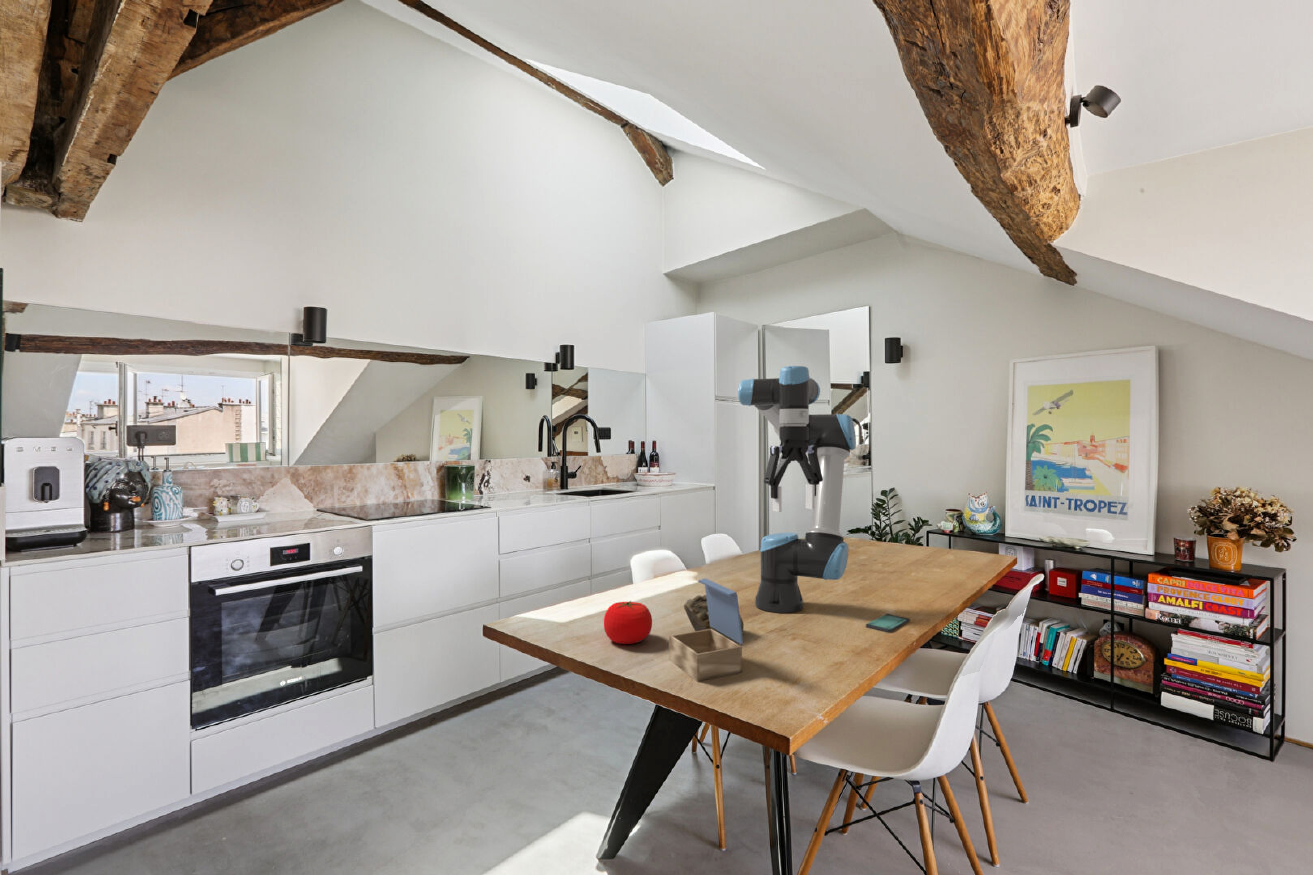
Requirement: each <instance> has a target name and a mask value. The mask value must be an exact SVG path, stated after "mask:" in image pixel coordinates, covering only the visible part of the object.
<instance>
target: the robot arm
mask: <svg viewBox="0 0 1313 875" xmlns="http://www.w3.org/2000/svg"><path fill="white" fill-rule="evenodd" d="M820 395H821V388H820V385H819V383H818V382H817V381H815V380H814V378H812V377H811V376H810V372H809V367H807V366H802V365H789V366H783V367H781V369H780V371H779V377H778V378H777V377H775V378H750V379H743V380H741V381H740V383H739V385H738V388H737V397H738V401H739V403H740V404H741V405H743V406H749V407H751V406H754V407H755V408H756V409H757V410H758V411H759V412H760V414H762V415H763V417H765V419H766V420H767V421H768V422H769V423H770V424H771V425H772V426H773V429H774V432H775V433H776V435H777V436H778V437H779V440H780V443H779V446H778V445H771V446H770V447H769V458H768V462H767V466H766V471H765V474H764V479H763V483H764V484H767V485H768V486H769V487H770V498H771V499H772V511H773V512H778V513H781V512H782V502H783V501H782V499H783V498H782V497H783V496H782V486H780V483H781V481H782V480H783V479H782V478H783V477H784V476H785V473H786V471H787V469H788V466H789V465H790V464H791V463H792V462H797V463H798V465H799V466H800V468H801V470H802V472H803V474H804V477H805V479H806V481H807V483H805V509H808V510H812V513H811V514H812V516H811V525H810V526H811V527H810V529H809V530H808V531H806V532H805V536H804V538H799V534H798V533H796V532H781V533H780V532H779V533H773V534H767V535H765V536H764V537H762V539H761V540H760V549H759V550H760V551H759V552H760V583H759V586H758V589H757V592H756V595H755V599H754V604H755V607H756V608H758V609H760V610H763V611H766V612H770V613H771V612H772V613H779V614H781V613H782V614H783V613H784V614H785V613H786V614H788V613H795V612H799V611H802V610H803V609H804V599H803V597H802V593H801V589H800V586H799V582H798V581H799V580H798V577H804V578H813V579H822V580H825V581H827V580H831V581H832V580H833V581H838V580H840V579H841V578H842V577H843V576H844V574H845V572H846V568H847V565H848V559H849V548H850V547H849V544H848V543H847V542H845V541H844V536H843V535H842V533H841V532H840V526H841V525H840V523H841V508H842V496H843V483H844V472H845V471H844V470H845V460H846V459H847V458H849V457H850V455H851V451H853V450H856V446H857V437H856V436H857V435H856V429H855V424H854V420H853V418H852V416H851V415H849V414H843V413H842V414H841V413H831V414H827V413H826V414H824V413H823V414H821V413H820V414H810V413H809V412H810V409H809V408H810V405H812V404H814V403H815V402H817V400H818V399H819V397H820Z"/></svg>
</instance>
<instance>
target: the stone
mask: <svg viewBox="0 0 1313 875" xmlns="http://www.w3.org/2000/svg"><path fill="white" fill-rule="evenodd" d="M683 607H684V608H683V609H684V611H685V613H686V615H687V618H688V619H689V622H690V624H691V627H693V628H692V629H694V632H695V631H701V630H707V629H713V630H714V631H716V632H718V633H719V634H721V635H723V636H725V637H726V638H728V639H730V640H731V641H732V639H731V638H730V637H728V636H726V635H724V634H723V633H721V632H719V631H718V630H716V629H714V628H712V627H711V626H710V622H709V614H708V606H707V598H706V594H704V595H699V594H698V595H696V596H695V597H694V598H691V599H686V601H685V603H684V605H683ZM740 622H741V630H742V633H743V632H744V626H745V625H744V621H743V618H742V616H741V615H740Z"/></svg>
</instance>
